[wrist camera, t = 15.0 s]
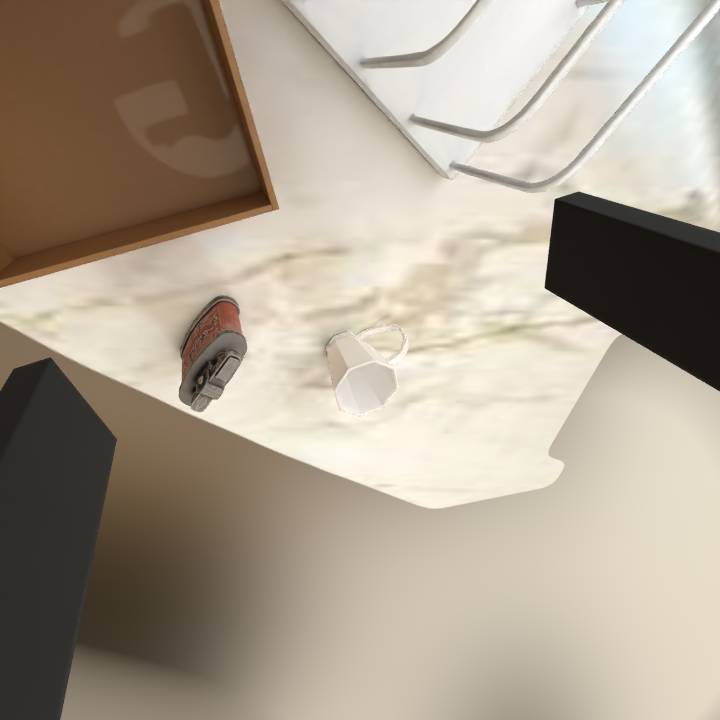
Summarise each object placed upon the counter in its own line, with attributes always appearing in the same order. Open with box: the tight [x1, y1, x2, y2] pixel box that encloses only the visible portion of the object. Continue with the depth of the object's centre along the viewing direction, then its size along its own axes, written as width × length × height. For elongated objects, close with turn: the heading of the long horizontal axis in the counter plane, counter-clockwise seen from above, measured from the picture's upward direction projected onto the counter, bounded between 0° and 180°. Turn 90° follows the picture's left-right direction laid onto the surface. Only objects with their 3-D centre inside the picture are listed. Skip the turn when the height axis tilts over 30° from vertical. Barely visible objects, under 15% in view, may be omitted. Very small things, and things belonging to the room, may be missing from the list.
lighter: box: [179, 296, 247, 412], centre depth 36 cm, size 8×3×10 cm, turn 139°
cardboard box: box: [0, 0, 279, 288], centre depth 27 cm, size 17×21×5 cm
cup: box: [326, 324, 409, 416], centre depth 44 cm, size 7×10×8 cm
